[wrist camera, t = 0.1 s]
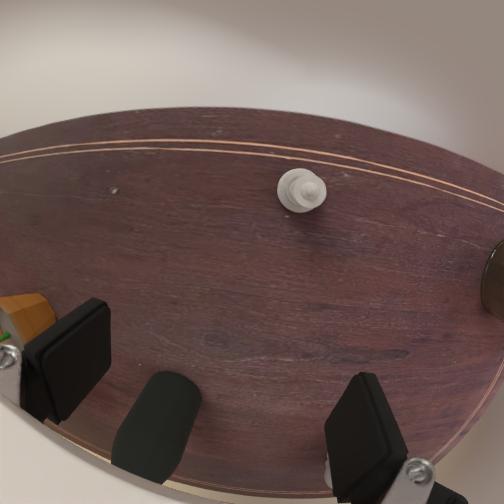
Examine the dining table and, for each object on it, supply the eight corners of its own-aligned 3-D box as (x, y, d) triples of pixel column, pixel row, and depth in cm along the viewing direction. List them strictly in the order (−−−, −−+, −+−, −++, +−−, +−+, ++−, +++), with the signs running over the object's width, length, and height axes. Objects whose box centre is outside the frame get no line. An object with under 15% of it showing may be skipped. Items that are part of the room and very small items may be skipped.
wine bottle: (188, 415, 35) (125, 578, 6) (143, 388, 35) (52, 542, 6) (212, 388, 34) (146, 590, 4) (162, 358, 33) (50, 545, 4)
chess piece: (276, 169, 27) (276, 158, 17) (319, 168, 26) (343, 158, 16) (277, 212, 28) (279, 225, 18) (320, 211, 27) (344, 224, 17)
